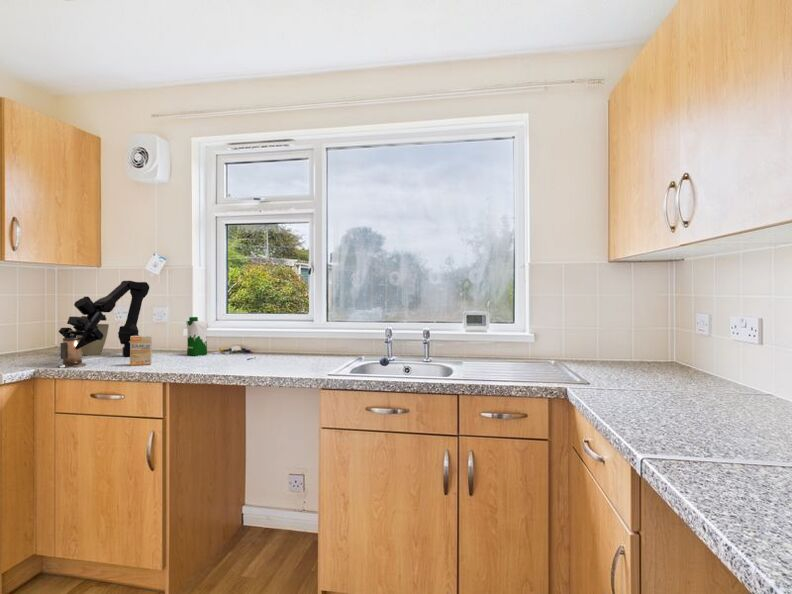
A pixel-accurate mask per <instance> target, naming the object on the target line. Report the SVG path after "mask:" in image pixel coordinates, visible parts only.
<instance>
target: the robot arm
mask: <svg viewBox="0 0 792 594" xmlns="http://www.w3.org/2000/svg"><path fill="white" fill-rule="evenodd" d="M149 291H150V285H149V283H148V282H146V281H133V280H122V281H121V283H119V285H118V286H116V287H115V288H114V289H113V290H112V291H111V292H110V293H108V294H107V295H106V296H103V297H101V298H99V299H96V300H95V301H92V299H91V298H90V297H89V296H83V298H80V299H78V300H76V301H75V302H74V304H73V307H75V308H76V309H77V310H78V311H79V312H80V313H81V314H82V316H69V317H68V319H67V321H66V324H67V325H71V326H73V329H74V330H73V329H72V328H71V327H61V328H60V329H59V330H58V333H59V334H60V335H61V336H63V338H71V337H70V334H71V333H74V334H75V336H74V337H77V336H76V335H80V336H82V338H81V340H80V341H79V343H78V344H77V346H76V349H79V348H81V347H83V346H85V345H87V344H89V343H91V342H94V341H96V340H101V339H102V338H103V333H102V332H101V331H100V330H99V329H98V327H97V324H100V322H101V321H103V322H104V321H107V317H106V314H103V313H111V312H112V311H113V310H114V308H115V307H116V305H117V302H118V301H119V300H120V299H121V298H122V297H124V296H125V295H126V294H127V293H128V292H129V293H130V295H131V300H130V304H129V307H128V311H127V316H126V320H125V323H124V325H120V326H119V329H118V333H117V336H118V340H119V342H120V345H123V347H122V356H123V357H125V358H126V357H127V358H128V357H129V358H130V337H131V336H140V335H139V332H140V331H139V328H138V320H139V318H140V317H139V316H140V312H141V310H142V309H141V308H142V303H143V300H144V299H145V297H146V296H147V295H148V293H149ZM75 329H76V330H75Z"/></svg>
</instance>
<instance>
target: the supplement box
mask: <svg viewBox="0 0 792 594" xmlns="http://www.w3.org/2000/svg"><path fill="white" fill-rule="evenodd" d="M152 337H153V336H152V335H139V336H131V337H130V357H129V366H130V367H131V366H132V367H134V366H136V365H138V366H151V365H152V356H153V355H152V349H153V342H152V341H153V338H152Z"/></svg>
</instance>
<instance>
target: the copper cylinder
mask: <svg viewBox="0 0 792 594" xmlns="http://www.w3.org/2000/svg"><path fill="white" fill-rule="evenodd" d="M74 336H75V334H74V333H71V334H70V337H71V338H64V337H63V338H62V342H60V345H59V346H60V360H62V365H63V364H78V363H83V358H82V357H83V356H82V355H83V353H82V347H81V348H79V349H76V346H77V344H78V343H79V341H80V340H81V338H82V337H77V336H76V337H74Z"/></svg>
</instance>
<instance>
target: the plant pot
mask: <svg viewBox="0 0 792 594" xmlns="http://www.w3.org/2000/svg"><path fill="white" fill-rule="evenodd" d="M97 327H98V329H99V330H100V331H101V332H102V333H103V338H102V339H101V340H96V341H94V342H91V343H89V344H87V345H85V346H83V347H82V355H83V356H84V355H94V356H99V354H100V355H101V354H102V352H103V349H104V347H105V344H106V340H107V337H108V332H109V327H110V324H109V323H98V324H97ZM74 330H76V329H74ZM76 337H82V336H80V335H76Z"/></svg>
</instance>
